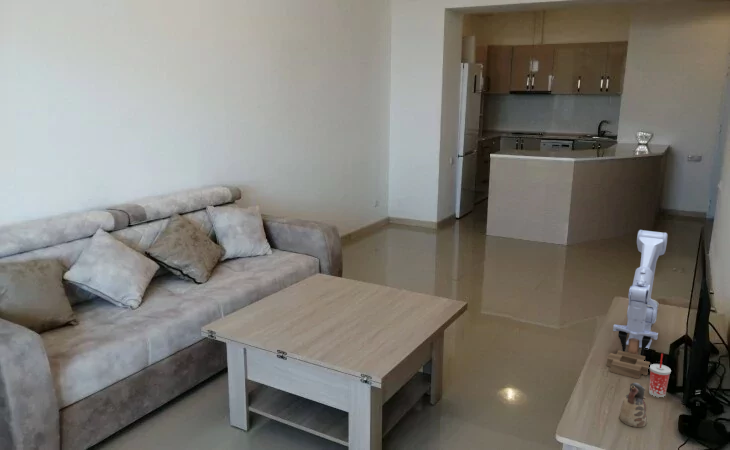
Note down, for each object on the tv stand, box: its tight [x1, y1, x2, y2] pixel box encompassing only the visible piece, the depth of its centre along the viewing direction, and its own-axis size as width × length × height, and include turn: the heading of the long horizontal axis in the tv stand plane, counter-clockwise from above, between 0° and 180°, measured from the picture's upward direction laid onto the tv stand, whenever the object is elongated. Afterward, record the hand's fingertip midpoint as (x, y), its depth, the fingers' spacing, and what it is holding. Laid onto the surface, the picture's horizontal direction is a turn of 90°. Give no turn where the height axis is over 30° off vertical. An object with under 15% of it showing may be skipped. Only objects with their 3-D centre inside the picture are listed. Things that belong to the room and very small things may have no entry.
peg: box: [627, 338, 640, 355], centre depth 205 cm, size 4×4×7 cm
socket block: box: [606, 349, 651, 380], centre depth 198 cm, size 13×13×3 cm
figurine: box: [619, 382, 647, 428], centre depth 165 cm, size 7×7×12 cm
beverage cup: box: [648, 352, 672, 398], centre depth 179 cm, size 6×6×14 cm
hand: (632, 353), depth 206 cm, fingers open, 5 cm apart
